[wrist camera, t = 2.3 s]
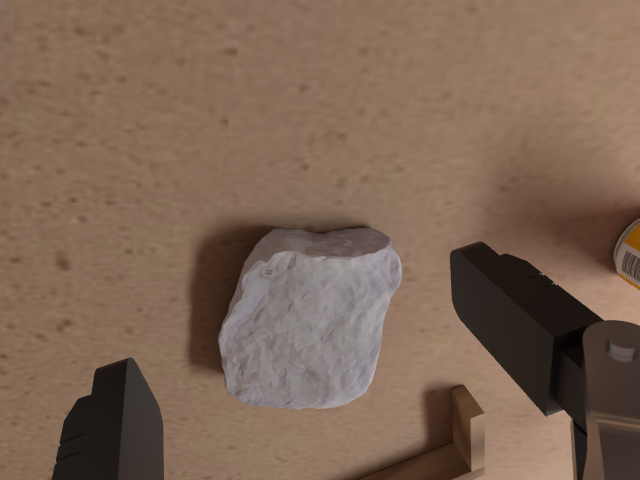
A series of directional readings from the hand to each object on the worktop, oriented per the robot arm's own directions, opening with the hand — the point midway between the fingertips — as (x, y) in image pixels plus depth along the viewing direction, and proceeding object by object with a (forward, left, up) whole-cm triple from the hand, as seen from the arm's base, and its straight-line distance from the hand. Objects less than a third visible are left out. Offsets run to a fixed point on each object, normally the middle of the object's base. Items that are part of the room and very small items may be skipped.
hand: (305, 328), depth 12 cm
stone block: (+11, +1, -16) cm, 19 cm away
